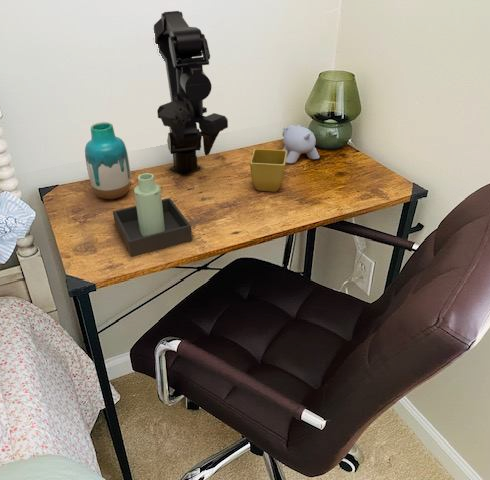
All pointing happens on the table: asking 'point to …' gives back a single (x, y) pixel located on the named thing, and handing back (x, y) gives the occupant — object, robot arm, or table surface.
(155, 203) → the bottle
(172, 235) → the bin
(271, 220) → the table surface
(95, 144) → the vase
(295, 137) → the hippopotamus toy
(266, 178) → the flower pot
